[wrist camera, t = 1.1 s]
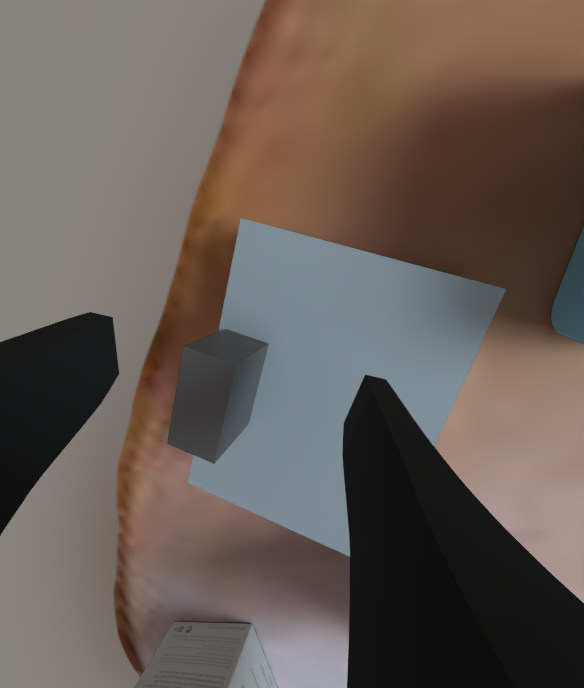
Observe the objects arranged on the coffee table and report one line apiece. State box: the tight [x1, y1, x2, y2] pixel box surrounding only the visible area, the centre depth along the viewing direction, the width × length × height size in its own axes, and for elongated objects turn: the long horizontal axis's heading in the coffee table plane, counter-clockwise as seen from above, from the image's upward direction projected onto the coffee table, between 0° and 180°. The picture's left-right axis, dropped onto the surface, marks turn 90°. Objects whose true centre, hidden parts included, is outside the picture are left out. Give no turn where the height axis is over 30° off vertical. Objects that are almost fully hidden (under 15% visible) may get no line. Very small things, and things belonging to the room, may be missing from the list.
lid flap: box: [167, 218, 506, 557], centre depth 16 cm, size 16×12×5 cm
